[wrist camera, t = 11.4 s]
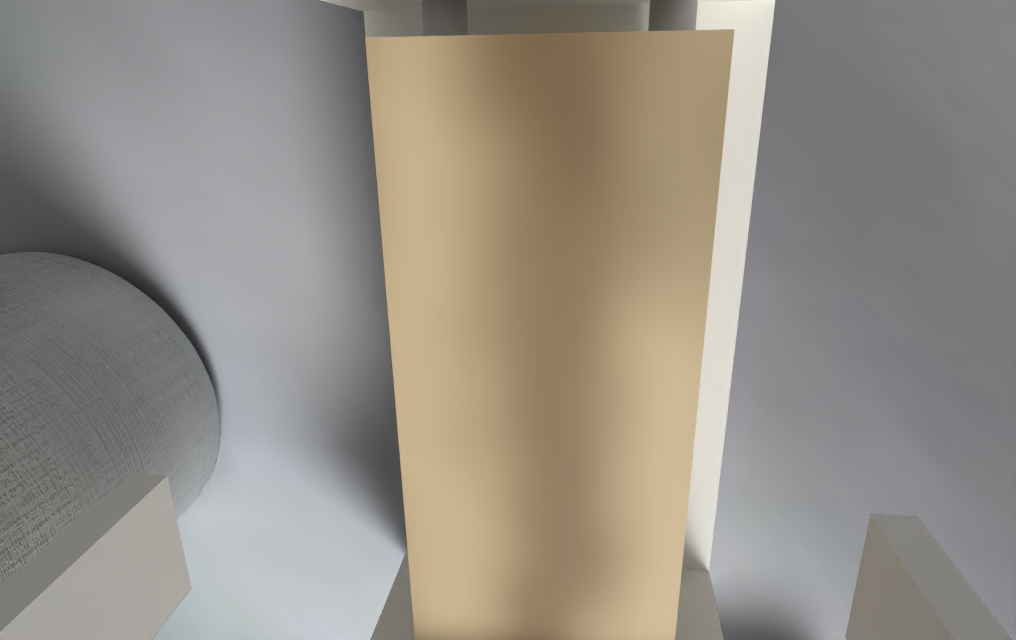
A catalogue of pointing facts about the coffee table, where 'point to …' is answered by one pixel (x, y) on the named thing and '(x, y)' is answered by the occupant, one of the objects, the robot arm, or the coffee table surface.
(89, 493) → the planter
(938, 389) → the coffee table surface
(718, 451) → the shelf bay
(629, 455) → the board
